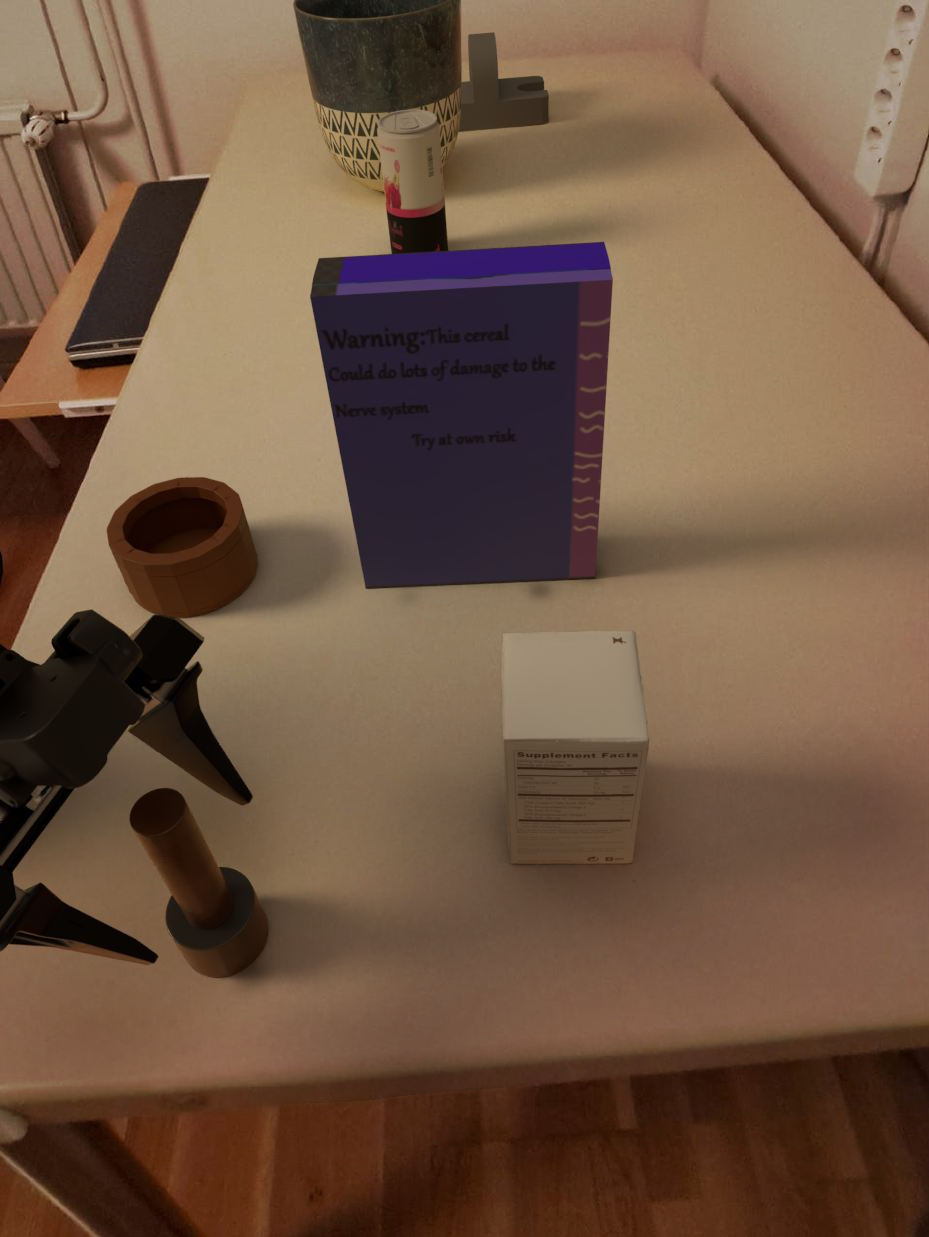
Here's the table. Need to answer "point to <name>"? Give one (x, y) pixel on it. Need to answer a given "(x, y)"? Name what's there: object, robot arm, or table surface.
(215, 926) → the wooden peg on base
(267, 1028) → the table surface
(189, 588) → the bowl
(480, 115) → the bracket
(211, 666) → the table surface
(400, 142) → the beverage can
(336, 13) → the planter
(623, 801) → the white packaging box
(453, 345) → the cereal box
